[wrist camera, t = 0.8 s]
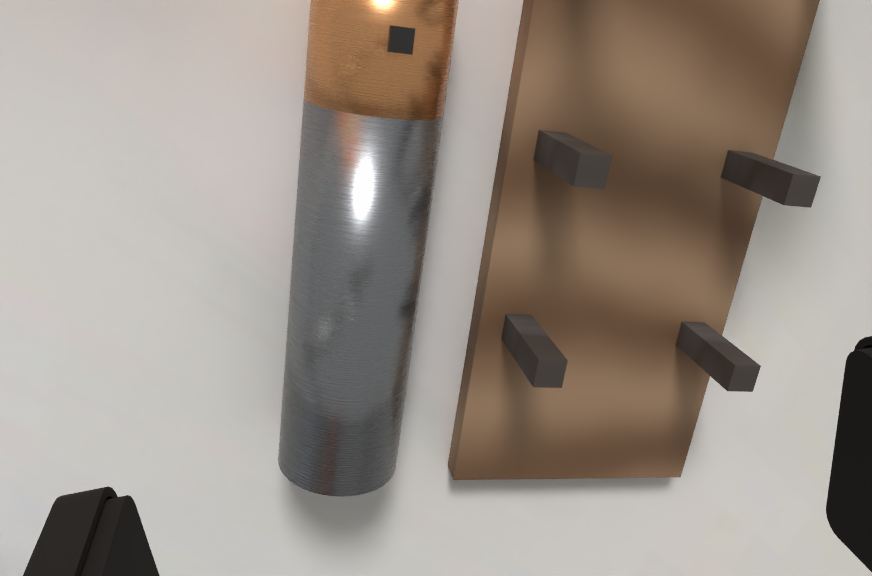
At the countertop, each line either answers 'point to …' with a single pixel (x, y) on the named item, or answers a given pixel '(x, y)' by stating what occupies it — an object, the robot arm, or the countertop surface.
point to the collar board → (623, 231)
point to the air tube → (360, 234)
